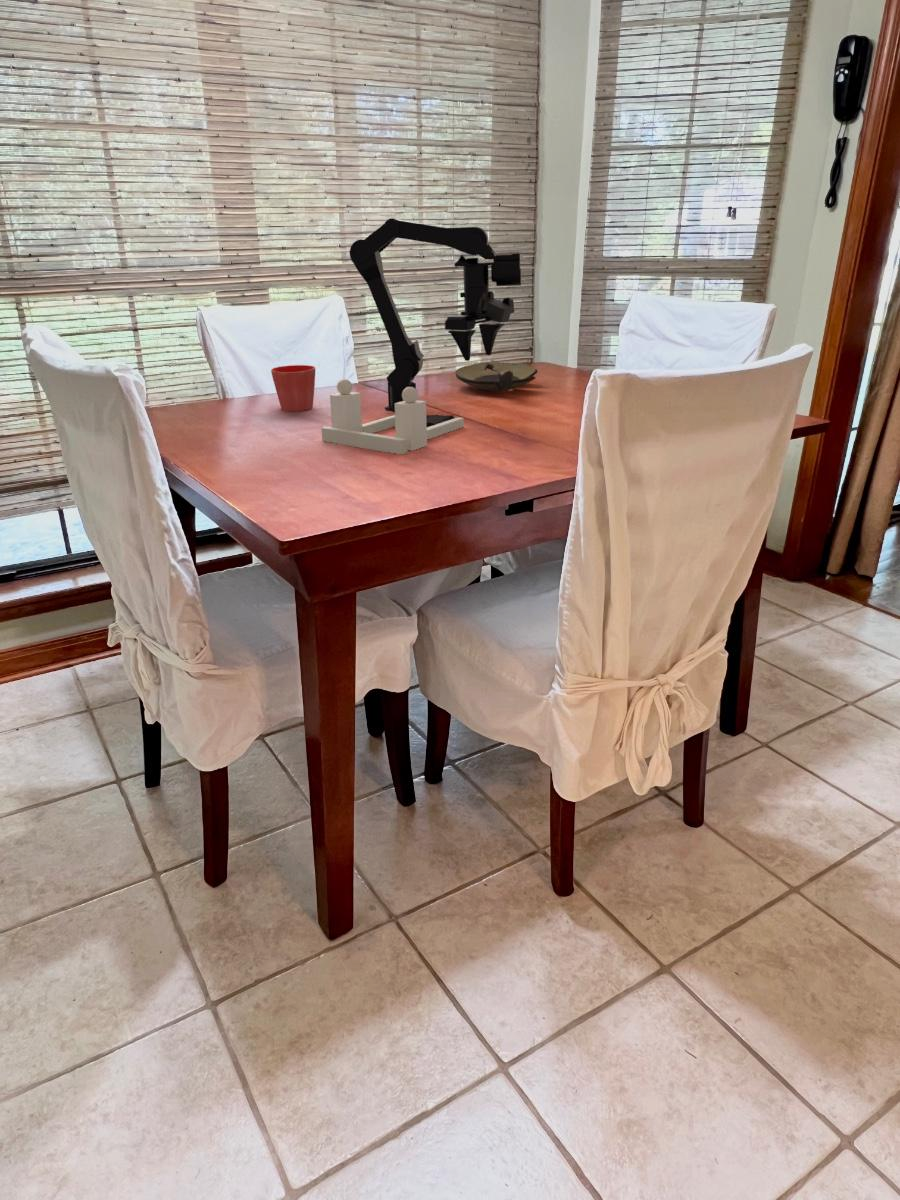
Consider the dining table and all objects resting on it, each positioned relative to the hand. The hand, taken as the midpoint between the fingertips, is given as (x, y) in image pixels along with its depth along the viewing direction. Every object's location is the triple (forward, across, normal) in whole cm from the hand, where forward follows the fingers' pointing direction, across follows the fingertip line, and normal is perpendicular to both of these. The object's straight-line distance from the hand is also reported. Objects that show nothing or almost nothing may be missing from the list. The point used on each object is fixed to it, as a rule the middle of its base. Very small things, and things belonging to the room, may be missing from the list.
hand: (478, 357), depth 192 cm
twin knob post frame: (+12, -31, 0) cm, 33 cm away
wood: (+13, -22, 0) cm, 26 cm away
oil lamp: (+13, +24, +11) cm, 29 cm away
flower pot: (+11, -22, +39) cm, 47 cm away
